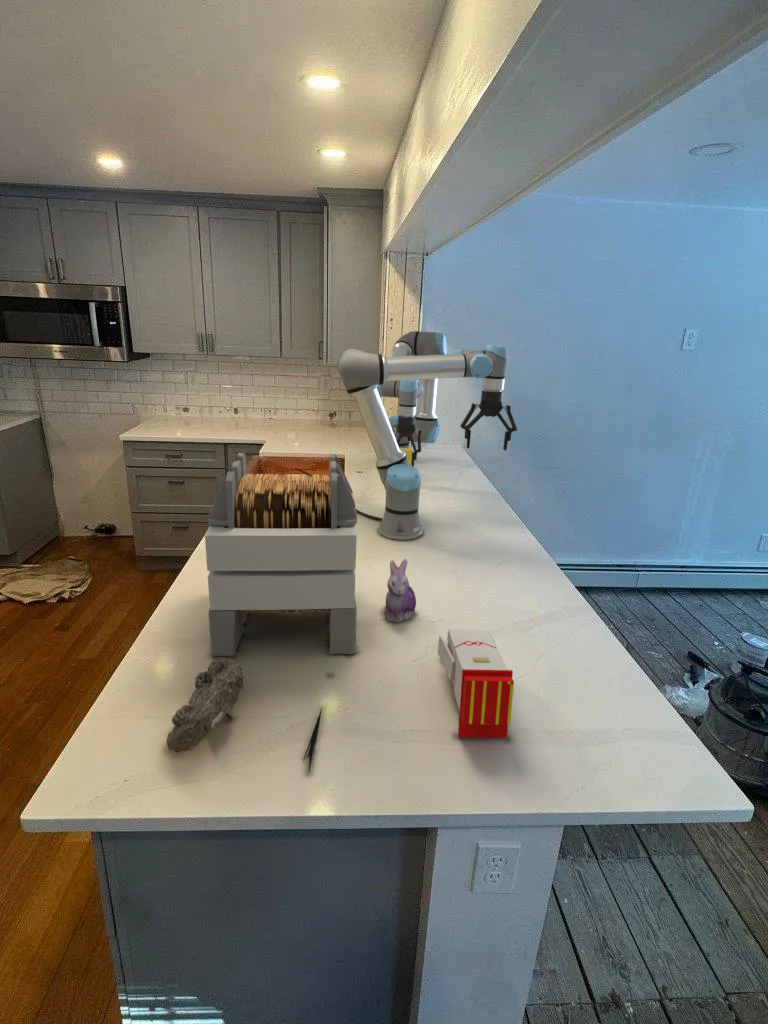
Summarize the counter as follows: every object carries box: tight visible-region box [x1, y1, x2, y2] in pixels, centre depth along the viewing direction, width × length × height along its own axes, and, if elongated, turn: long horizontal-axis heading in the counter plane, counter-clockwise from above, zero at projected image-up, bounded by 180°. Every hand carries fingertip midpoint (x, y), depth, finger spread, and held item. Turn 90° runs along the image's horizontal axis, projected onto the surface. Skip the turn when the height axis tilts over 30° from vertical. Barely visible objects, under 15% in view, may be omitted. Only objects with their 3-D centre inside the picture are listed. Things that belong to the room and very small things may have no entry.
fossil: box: [166, 658, 245, 754], centre depth 106 cm, size 22×10×15 cm
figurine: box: [384, 558, 417, 623], centre depth 145 cm, size 9×10×15 cm
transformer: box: [204, 452, 358, 658], centre depth 136 cm, size 34×33×41 cm
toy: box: [437, 628, 515, 738], centre depth 117 cm, size 12×13×30 cm
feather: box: [301, 673, 332, 771], centre depth 108 cm, size 2×28×2 cm
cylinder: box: [399, 447, 414, 466], centre depth 253 cm, size 7×7×12 cm
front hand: (486, 448), depth 209 cm, fingers open, 13 cm apart
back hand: (403, 466), depth 254 cm, fingers closed on cylinder, 7 cm apart
